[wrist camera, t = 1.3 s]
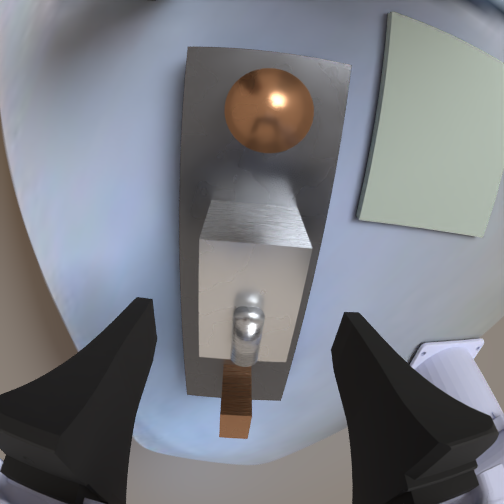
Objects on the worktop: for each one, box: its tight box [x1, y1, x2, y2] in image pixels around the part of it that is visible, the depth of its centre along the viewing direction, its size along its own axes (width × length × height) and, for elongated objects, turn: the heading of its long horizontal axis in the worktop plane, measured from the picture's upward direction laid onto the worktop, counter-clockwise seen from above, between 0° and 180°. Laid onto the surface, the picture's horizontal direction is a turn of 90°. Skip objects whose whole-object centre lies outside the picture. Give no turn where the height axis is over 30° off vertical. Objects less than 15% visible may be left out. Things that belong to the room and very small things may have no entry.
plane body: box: [179, 47, 351, 439], centre depth 16 cm, size 22×7×6 cm, turn 174°
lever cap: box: [199, 200, 312, 367], centre depth 14 cm, size 6×4×5 cm, turn 175°
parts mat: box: [356, 11, 504, 238], centre depth 15 cm, size 12×10×1 cm
